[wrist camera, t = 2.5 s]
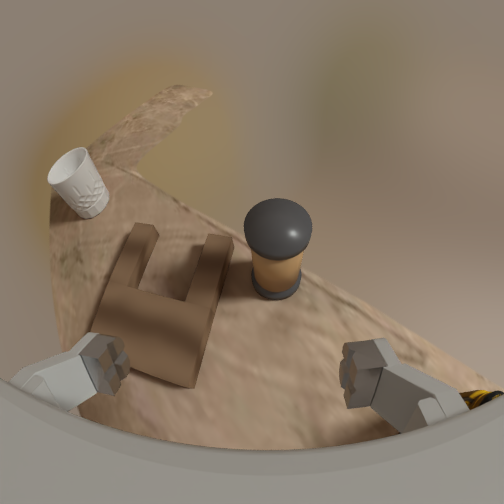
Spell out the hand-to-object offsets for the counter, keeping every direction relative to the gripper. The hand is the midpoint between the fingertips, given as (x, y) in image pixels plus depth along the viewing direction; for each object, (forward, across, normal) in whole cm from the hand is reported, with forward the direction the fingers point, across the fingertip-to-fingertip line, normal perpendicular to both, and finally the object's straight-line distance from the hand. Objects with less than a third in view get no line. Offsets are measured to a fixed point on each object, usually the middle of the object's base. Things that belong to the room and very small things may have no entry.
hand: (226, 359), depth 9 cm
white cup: (+33, +29, -4) cm, 44 cm away
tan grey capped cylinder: (+23, -2, +6) cm, 24 cm away
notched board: (+21, +12, +8) cm, 25 cm away
